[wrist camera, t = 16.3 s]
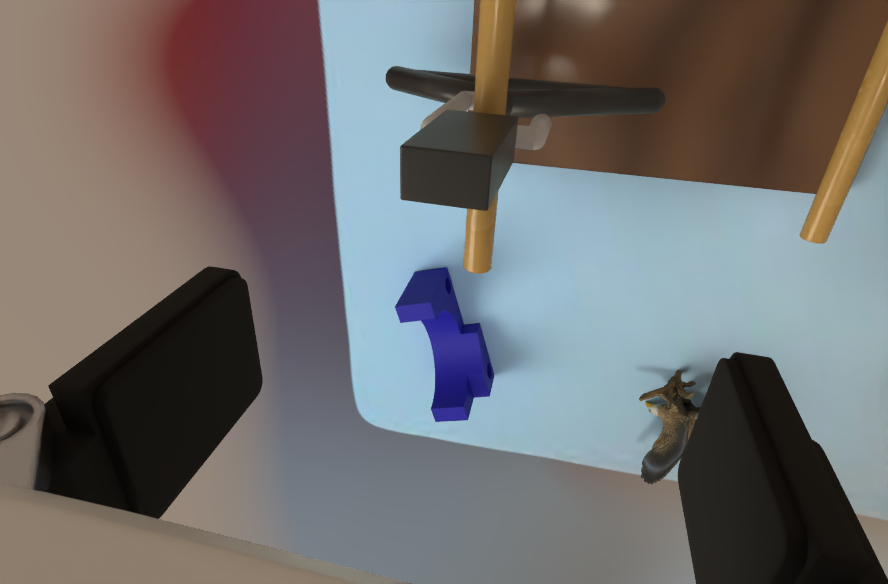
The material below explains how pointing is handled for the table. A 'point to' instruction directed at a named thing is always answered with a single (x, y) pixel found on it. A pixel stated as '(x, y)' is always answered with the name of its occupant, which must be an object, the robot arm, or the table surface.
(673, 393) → the eagle figurine
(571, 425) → the table surface
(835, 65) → the rack
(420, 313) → the cable clip
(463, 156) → the hanger
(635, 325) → the table surface
